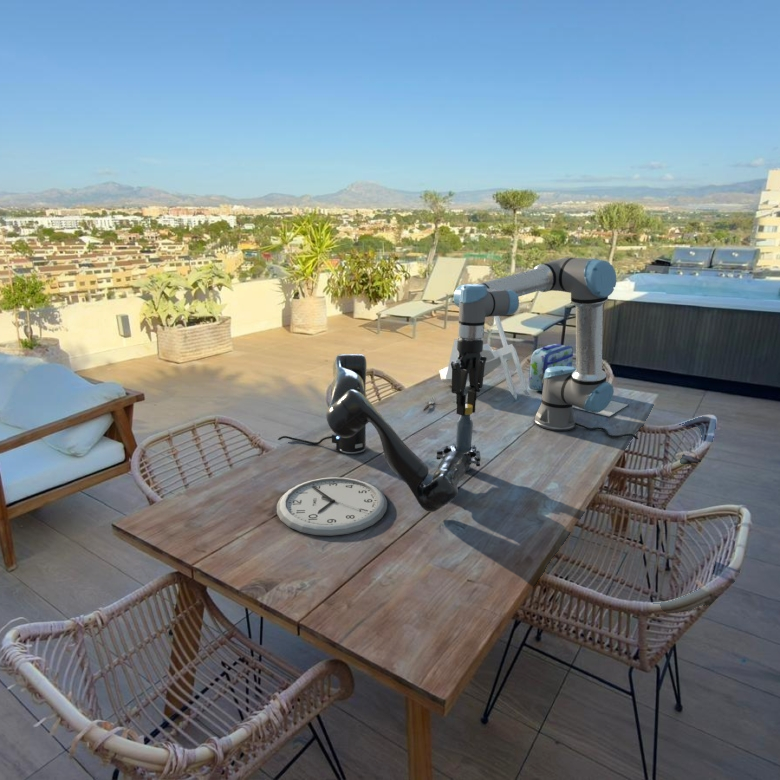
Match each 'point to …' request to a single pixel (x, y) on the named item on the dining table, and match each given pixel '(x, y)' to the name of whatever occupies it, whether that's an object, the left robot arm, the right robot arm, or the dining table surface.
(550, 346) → the lunch box
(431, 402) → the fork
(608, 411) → the invitation card
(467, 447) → the bottle
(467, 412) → the cap
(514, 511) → the dining table surface
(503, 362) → the white plastic object
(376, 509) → the wall clock
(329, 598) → the dining table surface
